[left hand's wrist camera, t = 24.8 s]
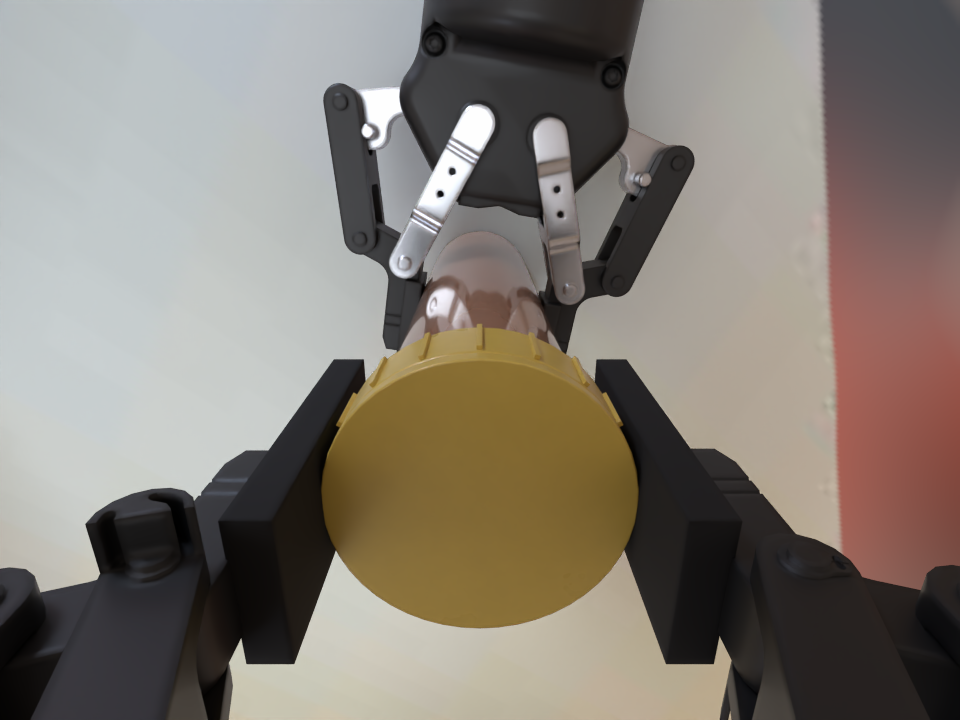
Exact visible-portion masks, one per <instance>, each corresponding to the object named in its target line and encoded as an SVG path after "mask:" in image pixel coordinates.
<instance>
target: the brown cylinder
mask: <svg viewBox="0 0 960 720" xmlns="http://www.w3.org/2000/svg"><path fill="white" fill-rule="evenodd" d="M477 324H482V327H483V328H499V329H504V330H510V331H515V332H519V333H522V334H525V335H528V334H529V332H531V333H534V334H535V338H537V339H539V340H542V341H544V342H546V343H548V344H550V345H552V346H554V347H556V348H557V349H559V350H560V351H561V349H560V347H559V344H558V342H557V339H556V337H555V335H554V332H553V330H552V327H551V325H550V323H549V320H548V318H547V315H546V313H545V311H544V308H543V306H542V303H541V301H540V299H539V296H538V294H537V291H536V289H535V287H534V284H533V282H532V279H531V277H530V275H529V272H528V270H527V267H526V265H525V263H524V260H523V258H522V256H521V254H520V253H519V251H518V250H517V249H516V247H515V246H514V245H513V244H512V243H511V242H509V241H508V240H507V239H505V238H503V237H502V236H499V235H497V234H494V233H491V232H484V231H476V232H469V233H466V234H463V235H461V236H458V237H457V238H455V239H453V240H452V241H451V242H450V243H448V244H447V245H446V246H445V247H444V249H443V250H442V251H441V253H440V255H439V256H438V258H437V260H436V263H435V265H434V268H433V270H432V272H431V275H430V277H429V280H428V282H427V284H426V287H425V289H424V292H423V294H422V296H421V299H420V301H419V303H418V306H417V308H416V311H415V313H414V315H413V318H412V320H411V323H410V325H409V327H408V330H407V332H406V334H405V337H404V339H403V342H402V344H401V346H400V349H399V351H400V350H401V349H403V348H404V347H406V346H408V345H410V344H412V343H414V342H416V341H418V340H420V339H422V338H424V335H425V333H428V332H430V334H431V335H434V334H437V333H440V332H445V331H450V330H455V329H461V328H477Z"/></svg>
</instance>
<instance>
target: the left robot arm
mask: <svg viewBox="0 0 960 720" xmlns="http://www.w3.org/2000/svg"><path fill="white" fill-rule="evenodd" d="M364 383H365V369H364V359H334V360H333V362H332V363H331V364H330V366H329V367H328V369H327V370H326V371H325V373H324V374H323V375H322V377H321V378H320V380H319V381H318V382H317V384H316V385H315V387H314V388H313V389H312V391H311V392H310V394H309V395H308V396H307V398H306V399H305V401H304V402H303V403H302V405H301V406H300V407H299V409H298V410H297V412H296V413H295V414H294V416H293V417H292V419H291V420H290V421H289V423H288V424H287V426H286V427H285V428H284V430H283V431H282V433H281V434H280V435H279V437H278V438H277V439H276V441H275V442H274V444H273V445H272V446H271V448H270V449H269V451H245V452H243V453H242V454H240V455H238V456H237V457H235V458H234V459H232V460H230V461H229V462H227V463H226V464H225V465H224V466H223V467H222V468H221V469H220V471H219V472H218V473H217V474H216V475H215V477H214V478H213V479H212V483H209V484H208V485H207V486H206V487H205V489H204V490H203V491H202V492H201V496H198V497H197V498H196V500H195V501H194V500H193V497H192V496H191V495H190V494H188V493H187V492H186V491H183V490H178V489H173V488H161V489H150V490H146V491H142V492H138V493H134V494H131V495H128V496H126V497H123V498H121V499H118V500H116V501H114V502H112V503H110V504H108V505H107V506H105V507H104V508H102V509H101V510H99V511H98V512H96V513H95V514H94V515H93V516H92V517H91V518H90V520H89V521H88V522H87V523H86V524H85V525H86V528H87V531H88V535H89V538H90V541H91V545H92V548H93V551H94V555H95V558H96V561H97V564H98V568H99V571H100V575H99V577H98V579H97V580H95V581H91V582H88V583H83V584H78V585H74V586H69V587H64V588H60V589H55V590H50V591H46V592H41V593H40V590H39V587H38V585H37V582H36V579H35V576H34V575H33V574H31V573H30V572H29V571H27V570H26V569H19V568H3V569H0V720H229V712H230V704H231V696H232V688H233V684H232V676H231V671H230V666H229V661H230V659H231V657H232V655H233V653H234V651H235V649H236V647H237V645H238V643H239V641H240V639H242V644H243V649H244V654H245V659H246V664H294V663H295V661H296V658H297V655H298V652H299V650H300V647H301V644H302V641H303V639H304V636H305V633H306V631H307V628H308V625H309V622H310V620H311V617H312V614H313V611H314V609H315V606H316V603H317V600H318V598H319V595H320V592H321V590H322V587H323V584H324V581H325V579H326V576H327V573H328V570H329V568H330V565H331V562H332V559H333V557H334V554H335V551H336V549H335V547H334V545H333V544H332V542H331V539H330V536H329V534H328V531H327V528H326V525H325V520H324V512H323V504H322V495H321V483H322V474H323V469H324V465H325V461H326V458H327V454H328V452H329V449H330V447H331V445H332V443H333V440H334V438H335V436H336V434H337V432H338V430H339V429H340V427H338V426H336V425H337V423H338V421H339V419H340V417H341V415H342V413H343V411H344V410H345V408H346V406H347V404H348V402H349V400H350V398H351V397H352V395H353V393H355V394H358V392H359V391H360V389H361V388H362V386H363V385H364ZM595 383H596V385H597V387H598V388H599V390H600V391H601V393H602V394H603V393H605V392H606V393H607V395H608V397H609V399H610V401H611V403H612V404H613V406H614V408H615V410H616V412H617V414H618V416H619V418H620V419H621V421H622V423H623V426H620V429H621V431H622V433H623V435H624V437H625V439H626V441H627V443H628V446H629V448H630V450H631V452H632V455H633V459H634V463H635V466H636V470H637V477H638V486H639V495H638V507H637V514H636V520H635V524H634V527H633V530H632V533H631V536H630V539H629V541H628V543H627V545H626V547H625V549H624V550H625V553H626V556H627V559H628V561H629V564H630V567H631V569H632V572H633V575H634V578H635V580H636V583H637V586H638V589H639V591H640V594H641V597H642V600H643V602H644V605H645V608H646V610H647V613H648V616H649V619H650V621H651V624H652V627H653V630H654V632H655V635H656V638H657V641H658V643H659V646H660V649H661V651H662V654H663V657H664V660H665V662H666V664H714V660H715V655H716V650H717V646H718V641H719V636H720V638H721V640H722V642H723V644H724V646H725V648H726V650H727V652H728V654H729V656H730V658H731V660H732V661H731V666H730V670H729V675H728V680H727V684H726V689H725V694H724V698H723V703H722V707H721V714H720V720H728V718H729V714H730V711H731V719H732V720H960V566H955V565H948V566H939V567H935V568H934V569H932V570H931V571H930V572H928V573H927V575H926V578H925V580H924V583H923V586H922V589H921V590H917V589H912V588H908V587H903V586H898V585H893V584H889V583H884V582H879V581H875V580H871V579H867V578H863V577H862V576H861V574H860V572H859V571H858V570H857V568H856V567H855V566H854V565H853V563H852V562H851V561H850V560H849V559H848V558H847V557H845V556H844V555H843V554H841V553H840V552H839V551H837V550H836V549H834V548H832V547H830V546H828V545H826V544H824V543H822V542H820V541H818V540H815V539H812V538H808V537H804V536H801V535H797V534H795V532H794V531H793V530H792V529H791V528H790V526H789V525H788V524H787V523H786V522H785V520H784V519H783V518H782V517H781V516H780V515H779V513H778V512H777V511H776V510H775V509H774V507H773V506H772V505H771V504H770V503H769V501H768V500H767V499H766V498H765V497H764V495H763V494H760V493H759V489H758V488H757V487H756V486H755V485H754V483H753V482H752V481H749V477H748V476H747V475H746V474H745V473H744V471H743V470H742V469H741V468H740V467H739V465H738V464H737V463H736V462H735V461H733V460H732V459H730V458H728V457H727V456H725V455H724V454H722V453H720V452H719V451H717V450H716V449H690V447H689V446H688V445H687V443H686V442H685V440H684V439H683V438H682V436H681V435H680V433H679V432H678V431H677V429H676V428H675V426H674V425H673V424H672V422H671V421H670V419H669V418H668V417H667V415H666V414H665V413H664V411H663V410H662V408H661V407H660V406H659V404H658V403H657V401H656V400H655V399H654V397H653V396H652V394H651V393H650V392H649V390H648V389H647V387H646V386H645V385H644V383H643V382H642V381H641V379H640V378H639V376H638V375H637V374H636V372H635V371H634V369H633V368H632V367H631V365H630V364H629V362H628V361H627V360H626V359H597V361H596V373H595Z"/></svg>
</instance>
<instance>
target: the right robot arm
mask: <svg viewBox="0 0 960 720" xmlns="http://www.w3.org/2000/svg"><path fill="white" fill-rule="evenodd" d="M643 3H644V0H424V8H423V17H422V26H421V35H420V43H419V49H418V52H417V55H416V58H415V60H414V62H413V64H412V66H411V68H410V69H409V71H408V72H407V74H406V75H405V77H404V79H403V81H402V83H401V86H397V87H384V88H371V89H353V88H351V87H349V86H347V85H345V84H341V83H336V84H333V85H331V86H330V87H329V88H328V89H327V90H326V92H325V94H324V100H323V101H324V109H325V116H326V122H327V129H328V135H329V142H330V148H331V155H332V162H333V168H334V175H335V181H336V188H337V195H338V201H339V208H340V214H341V221H342V228H343V234H344V240H345V244H346V246H347V247H348V249H349V250H350V251H352V252H353V253H355V254H359V255H363V254H364V255H365V256H367V257H369V258H371V259H373V260H375V261H376V262H378V263H380V264H381V265H382V266H383V267H384V268H385V270H386V272H387V274H388V279H389V280H388V291H387V300H386V310H385V319H384V328H383V340H384V343H385V346H386V349H393V350H397V352H398V351H399V349H400V346H401V344H402V342H403V339H404V337H405V334H406V332H407V330H408V327H409V325H410V323H411V320H412V318H413V315H414V313H415V311H416V308H417V306H418V303H419V301H420V299H421V296H422V294H423V292H424V289H425V287H426V279H427V272H423V265H424V259H425V257H426V255H427V254H428V252H429V250H430V248H431V246H432V244H433V242H434V241H435V239H436V237H437V235H438V233H439V231H440V229H441V228H442V226H443V224H444V222H445V220H446V218H447V217H448V215H449V213H450V211H451V209H452V207H453V205H454V204H455V202H456V201H457V202H459V204H458V205H463V206H469V207H475V208H484V207H493V206H501V207H503V208H505V209H508V210H510V211H512V212H514V213H516V214H518V215H522V216H528V217H534V218H537V221H538V227H539V233H540V237H541V241H542V247H543V253H544V259H545V265H546V272H547V278H548V280H547V285H546V290H545V292H543V291H539V299H540V301H541V303H542V306H543V308H544V311H545V313H546V315H547V318H548V320H549V323H550V325H551V327H552V330H553V332H554V335H555V337H556V339H557V342H558V344H559V347H560V349H561V351H562V352H563V353H565V354H566V352H567V348H568V343H569V340H570V335H571V331H572V327H573V322H574V318H575V314H576V310H577V308H578V307H579V305H580V304H581V303H582V302H583V301H585V300H586V299H588V298H592V297H597V296H602V295H610V296H613V297H620V296H623V295H625V294H626V293H627V292H628V291H629V290H630V289H631V287H632V285H633V283H634V281H635V279H636V277H637V275H638V273H639V272H640V270H641V268H642V266H643V264H644V262H645V260H646V258H647V256H648V254H649V252H650V250H651V248H652V246H653V245H654V243H655V241H656V239H657V237H658V235H659V233H660V231H661V229H662V227H663V225H664V223H665V221H666V219H667V218H668V216H669V214H670V212H671V210H672V208H673V206H674V204H675V202H676V200H677V198H678V196H679V194H680V192H681V190H682V189H683V187H684V185H685V183H686V181H687V179H688V177H689V175H690V173H691V171H692V169H693V167H694V155H693V153H692V151H691V150H690V149H689V148H687V147H685V146H677V145H665V144H663V143H661V142H659V141H656V140H654V139H652V138H650V137H648V136H646V135H644V134H641V133H639V132H637V131H635V130H633V129H631V128H629V119H628V114H627V111H626V107H625V100H624V87H625V81H626V76H627V72H628V68H629V63H630V59H631V55H632V50H633V46H634V42H635V37H636V33H637V29H638V24H639V20H640V16H641V11H642V7H643ZM401 116H405V118H406V120H407V122H408V124H409V126H410V128H411V130H412V132H413V134H414V136H415V138H416V140H417V142H418V144H419V146H420V148H421V150H422V152H423V154H424V156H425V158H426V160H427V162H428V164H429V166H430V168H431V170H432V172H433V173H432V175H431V177H430V178H429V180H428V182H427V184H426V186H425V188H424V190H423V192H422V194H421V196H420V198H419V200H418V202H417V204H416V206H415V208H414V210H413V212H412V214H411V217H410V219H409V221H408V223H407V225H406V227H405V229H404V231H403V232H402V234H401V233H399V232H397V231H396V230H394V229H392V228H390V227H388V226H387V225H385V220H384V212H383V204H382V196H381V188H380V180H379V172H378V164H377V156H376V150H379V149H382V148H384V147H385V146H386V145H387V144H388V143H389V141H390V138H391V127H392V125H393V123H394V121H395V120H396V119H397V118H399V117H401ZM615 154H616V155H617V156H618V157H619V159H620V161H621V172H620V175H619V184H620V187H621V189H622V190H623V191H624V192H626V193H627V194H626V196H625V198H624V200H623V202H622V204H621V206H620V208H619V211H618V213H617V215H616V217H615V219H614V221H613V223H612V225H611V227H610V229H609V231H608V233H607V235H606V237H605V239H604V241H603V243H602V246H601V248H600V250H599V252H598V254H597V256H596V258H595V260H591V261H586V262H582V261H581V254H580V232H579V224H578V217H577V210H576V202H575V195H574V194H575V193H576V192H577V191H578V190H579V189H580V188H581V187H582V186H583V185H584V184H585V183H586V182H587V181H588V180H589V179H590V178H591V177H592V176H593V175H594V174H595V173H596V172H597V171H598V170H599V169H600V168H601V167H603V166H604V165H605V164H606V163H607V162H608V161H609V160H610V159H611V158H612V157H613V156H614V155H615Z"/></svg>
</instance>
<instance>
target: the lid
mask: <svg viewBox="0 0 960 720" xmlns="http://www.w3.org/2000/svg"><path fill="white" fill-rule="evenodd" d="M336 426H338V427H340V429H339V430H338V432H337V434H336V436H335V438H334V440H333V443H332V445H331V447H330V449H329V452H328V454H327V458H326V461H325V465H324V469H323V474H322V483H321V495H322V504H323V512H324V520H325V525H326V528H327V531H328V534H329V536H330V539H331V542H332V544H333V545H334V547H335V549H336V551H337V553H338V555H339V557H340V558H341V559H342V561H343V562H344V564H345V565H346V566H347V568H348V569H349V571H350V572H351V573H352V574H353V575H354V576H355V577H356V578H357V579H358V580H359V581H360V582H361V583H362V584H363V585H364V586H365V587H366V588H368V589H369V590H370V591H371V592H372V593H374V594H375V595H376V596H378V597H379V598H381V599H382V600H384V601H385V602H387V603H388V604H390V605H392V606H394V607H396V608H398V609H400V610H402V611H404V612H406V613H408V614H410V615H413V616H416V617H418V618H421V619H424V620H427V621H431V622H435V623H439V624H443V625H449V626H456V627H464V628H495V627H504V626H511V625H517V624H521V623H525V622H529V621H533V620H536V619H539V618H542V617H544V616H547V615H550V614H552V613H554V612H556V611H558V610H560V609H562V608H564V607H566V606H568V605H570V604H572V603H573V602H575V601H576V600H578V599H579V598H581V597H582V596H584V595H585V594H586V593H587V592H589V591H590V590H591V589H592V588H593V587H595V586H596V585H597V584H598V583H599V582H600V581H601V580H602V579H603V578H604V577H605V576H606V575H607V574H608V572H609V571H610V570H611V569H612V567H613V566H614V565H615V563H616V562H617V561H618V559H619V558H620V556H621V554H622V553H623V551H624V549H625V547H626V545H627V543H628V541H629V539H630V536H631V533H632V530H633V527H634V524H635V520H636V514H637V507H638V495H639V486H638V477H637V470H636V466H635V463H634V459H633V455H632V452H631V450H630V448H629V446H628V443H627V441H626V439H625V437H624V435H623V433H622V431H621V429H620V426H623V423H622V421H621V419H620V418H619V416H618V414H617V412H616V410H615V408H614V406H613V404H612V403H611V401H610V399H609V397H608V395H607V393H606V392H605V393H603V394H602V393H601V391H600V390H599V388H598V387H597V385H596V383H595V382H594V381H593V379H592V378H591V377H590V376H589V375H588V374H587V373H586V371H585V370H584V369H583V368H582V366H581V364H580V362H579V360H578V358H576V357H575V356H574V357H573V358H570V357H569V356H568V355H566V354H565V353H563V352H562V351H560V350H559V349H557V348H556V347H554V346H552V345H550V344H548V343H546V342H544V341H542V340H539V339H537V338H535V334H534V333H531V332H529V334H528V335H525V334H522V333H519V332H515V331H510V330H504V329H499V328H483V327H482V324H477V328H461V329H455V330H450V331H445V332H440V333H437V334H434V335H431V334H430V332H428V333H425V335H424V338H422V339H420V340H418V341H416V342H414V343H412V344H410V345H408V346H406V347H404V348H403V349H401V350H400V351H398V352H397V353H395V354H394V355H392V356H390V357H389V358H388V359H387V358H386V357H383V358H382V359H381V361H380V363H379V365H378V367H377V369H376V370H375V371H374V372H373V373H372V375H371V376H370V377H369V378H368V379H367V380H366V381H365V383H364V385H363V386H362V388H361V389H360V391H359V392H358V394H355V393H353V395H352V397H351V398H350V400H349V402H348V404H347V406H346V408H345V410H344V411H343V413H342V415H341V417H340V419H339V421H338V423H337V425H336Z"/></svg>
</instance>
